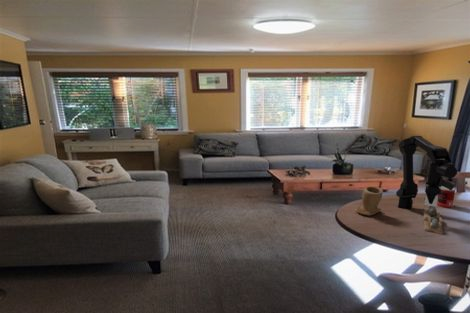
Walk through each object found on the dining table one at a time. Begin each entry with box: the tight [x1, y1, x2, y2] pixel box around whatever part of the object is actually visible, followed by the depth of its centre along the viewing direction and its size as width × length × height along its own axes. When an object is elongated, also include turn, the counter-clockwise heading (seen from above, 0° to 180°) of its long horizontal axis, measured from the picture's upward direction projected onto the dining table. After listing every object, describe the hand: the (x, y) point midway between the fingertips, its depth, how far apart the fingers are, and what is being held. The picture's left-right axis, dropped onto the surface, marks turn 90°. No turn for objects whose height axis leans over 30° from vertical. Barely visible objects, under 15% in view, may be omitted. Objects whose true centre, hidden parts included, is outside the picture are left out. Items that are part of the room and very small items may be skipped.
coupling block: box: [424, 194, 438, 208], centre depth 143 cm, size 6×5×5 cm
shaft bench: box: [423, 206, 444, 235], centre depth 145 cm, size 8×27×5 cm, turn 148°
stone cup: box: [355, 185, 383, 216], centre depth 156 cm, size 15×12×15 cm
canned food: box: [437, 185, 456, 209], centre depth 166 cm, size 8×8×11 cm
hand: (430, 202), depth 143 cm, fingers closed on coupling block, 5 cm apart
